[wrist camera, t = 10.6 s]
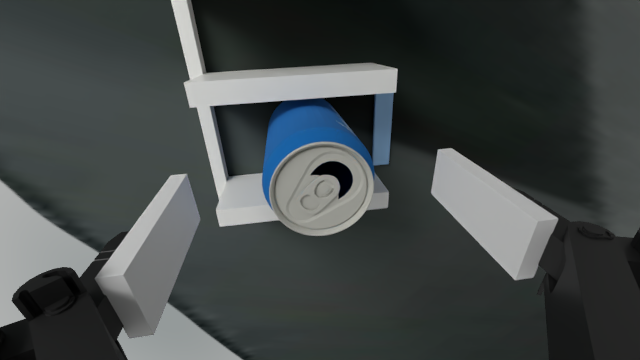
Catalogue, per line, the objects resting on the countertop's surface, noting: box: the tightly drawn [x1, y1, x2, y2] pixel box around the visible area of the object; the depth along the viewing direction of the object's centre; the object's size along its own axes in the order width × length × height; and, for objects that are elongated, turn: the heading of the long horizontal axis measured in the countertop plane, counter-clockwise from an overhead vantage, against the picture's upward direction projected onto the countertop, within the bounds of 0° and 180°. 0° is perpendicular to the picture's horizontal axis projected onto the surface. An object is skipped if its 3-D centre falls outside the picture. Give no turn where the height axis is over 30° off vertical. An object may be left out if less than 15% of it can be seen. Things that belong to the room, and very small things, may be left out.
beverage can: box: [262, 98, 375, 236], centre depth 20 cm, size 6×6×12 cm
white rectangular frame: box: [171, 0, 398, 227], centre depth 19 cm, size 28×14×6 cm, turn 3°
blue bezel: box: [372, 93, 394, 165], centre depth 26 cm, size 8×2×1 cm, turn 3°
